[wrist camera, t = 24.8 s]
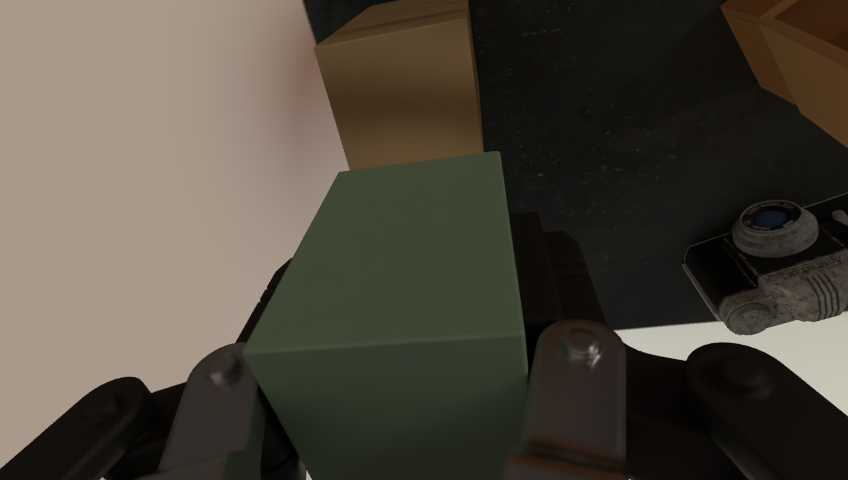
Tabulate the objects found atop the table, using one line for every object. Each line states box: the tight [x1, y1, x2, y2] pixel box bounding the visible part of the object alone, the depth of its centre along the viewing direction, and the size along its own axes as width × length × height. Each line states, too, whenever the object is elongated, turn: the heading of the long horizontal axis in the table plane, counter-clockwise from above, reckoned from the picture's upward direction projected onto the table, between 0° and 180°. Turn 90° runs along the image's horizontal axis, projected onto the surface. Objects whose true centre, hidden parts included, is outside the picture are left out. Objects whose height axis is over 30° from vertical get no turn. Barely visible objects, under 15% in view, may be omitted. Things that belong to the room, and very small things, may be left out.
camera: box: [682, 193, 848, 335], centre depth 36 cm, size 15×7×10 cm, turn 119°
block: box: [242, 151, 529, 480], centre depth 10 cm, size 4×4×6 cm
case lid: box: [758, 16, 848, 148], centre depth 24 cm, size 11×7×1 cm
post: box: [314, 0, 484, 171], centre depth 28 cm, size 7×7×15 cm
